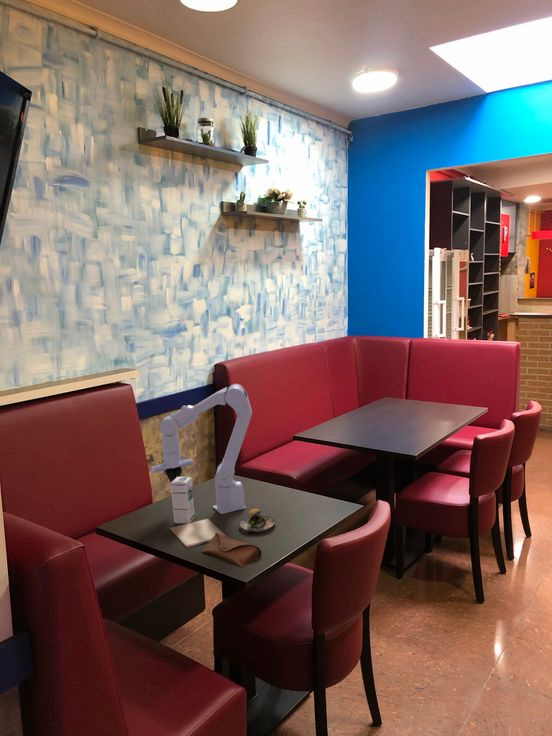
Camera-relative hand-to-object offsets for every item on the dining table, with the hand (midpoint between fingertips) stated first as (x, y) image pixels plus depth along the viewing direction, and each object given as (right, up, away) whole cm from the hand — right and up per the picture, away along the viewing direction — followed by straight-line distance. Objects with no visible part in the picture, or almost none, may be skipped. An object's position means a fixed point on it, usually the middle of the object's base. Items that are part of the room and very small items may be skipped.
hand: (174, 488), depth 204 cm
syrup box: (+5, -10, -7) cm, 13 cm away
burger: (+30, -10, -15) cm, 35 cm away
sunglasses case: (+22, -13, -33) cm, 42 cm away
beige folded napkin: (+11, -11, -18) cm, 23 cm away
